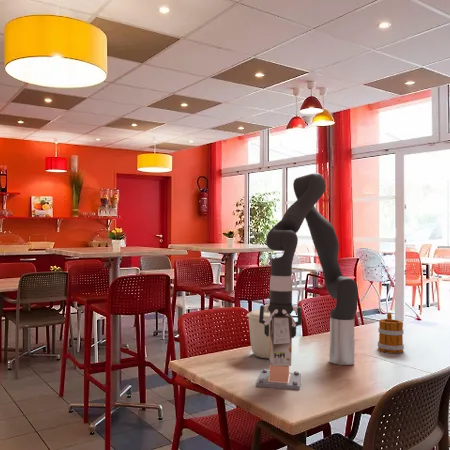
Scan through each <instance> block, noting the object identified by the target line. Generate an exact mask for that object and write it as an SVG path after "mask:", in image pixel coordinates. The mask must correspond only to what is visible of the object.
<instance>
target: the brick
mask: <svg viewBox="0 0 450 450" xmlns="http://www.w3.org/2000/svg"><path fill="white" fill-rule="evenodd" d="M269 371H270V381H279V382H288V378H289V373H290V366H273V365H272V363H271V362H270V364H269Z"/></svg>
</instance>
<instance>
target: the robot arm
mask: <svg viewBox="0 0 450 450" xmlns="http://www.w3.org/2000/svg"><path fill="white" fill-rule="evenodd" d="M292 186H293V192H294V195H295V198H296V201H294V202H293V203H292V204H291V205H290V206H289V207H288V208H287V210H286V211H285V213H284V214H283V216H282V218H281V220H279V222H277V223H276V224H275V225H273V227H272V228H271V229H270V230H269V231H268V232H267V235H266V238H265V244H266V246H267V248H268V249H269V250H271V251H278V252H279V251H281V252H282V251H283V254H282V256H279V257H274V258H272V260H271V261H270V278H269V279H270V280H269V303H268V304H269V306H265V305H264V304H261V305H260V306H259V310H260V316H259V323H262V324H264V326H265V327H264V333H265V335H266V336H267V337H268V336H269V325H268V323H269V322H270V321H271V320H272V316H288V317H290V316H291V317H292V339H294V338H295V337H296V335H297V327H298V326H301V325H302V323H303V322H302V321H303V320H302V319H303V318H302V317H303V316H302V306H300V305H299V306H293V277H292V275H293V274H292V273H293V261H294V257H295V253H296V250H297V248H298V241H299V239H298V235H297V233H298V232H299V230H300V229H301V226H302V225H303V223H304V221H305V222H306V225H307V227H308V230H309V233H310V237H311V240H312V243H313V245H314V248H315V251H316V253H317V256H318V260H319V264H320V265H321V270H322V273H323V278H324V282H325V286H326V291H327V294H328V295H329V296H330V297H331V298H333V299H335V300H336V303H335V307H334V308H333V309H331V310H330V312H329V313H330V314H329V317H330V318H329V319H330V321H329V355H328V356H329V362H330V363H331V364H335V365H339V366H349V365H350V366H351V365H352V366H353V365H355V345H356V343H355V317H356V313H357V310H358V298H359V296H358V294H359V287H358V284H357V282H356V281H355V280H354V278H351V277H347V276H344V275H343V274H342V271H341V268H340V266H339V253H340V252H339V249H340V244H339V243H340V242H339V239H338V236H337V234H336V233H337V232H336V230H335V228H334V225H332V223H330V221H329V220H328V219H327V218H326V217H324V216H323V215H322V214H321V213H320V212H319V210H317V208H316V207H315V206H316V203H317V202H319V200H320V199H321V198H322V197H323V195H324V194H325V192H326V180H325V178H324V177H323V175H322V174H321V173H318V172H314V173H310V174H306V175H303V176H302V175H301V176H298V177H296V178H294V180H293V185H292ZM267 309H268V310H269V311H270V313H271V315H270V316H269V317H268V319H267V320H264V319H263V318H264V312H266V310H267ZM293 311H294V313H295V314H296V315H297V321H296V320H294V318H293V316H292V315H291V314H292V313H293Z"/></svg>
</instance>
